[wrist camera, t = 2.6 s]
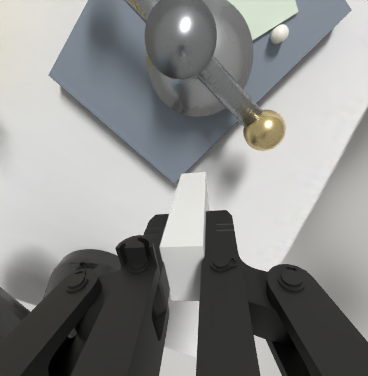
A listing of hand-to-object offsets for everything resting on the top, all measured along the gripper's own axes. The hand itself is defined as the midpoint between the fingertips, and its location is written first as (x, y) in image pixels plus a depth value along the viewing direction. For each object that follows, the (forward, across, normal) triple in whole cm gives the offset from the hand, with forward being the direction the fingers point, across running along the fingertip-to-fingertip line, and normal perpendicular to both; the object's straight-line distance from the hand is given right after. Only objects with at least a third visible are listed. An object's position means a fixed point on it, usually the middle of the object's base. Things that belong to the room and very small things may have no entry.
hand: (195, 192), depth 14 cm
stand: (+13, 0, +9) cm, 16 cm away
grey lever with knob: (+11, 0, +9) cm, 14 cm away
